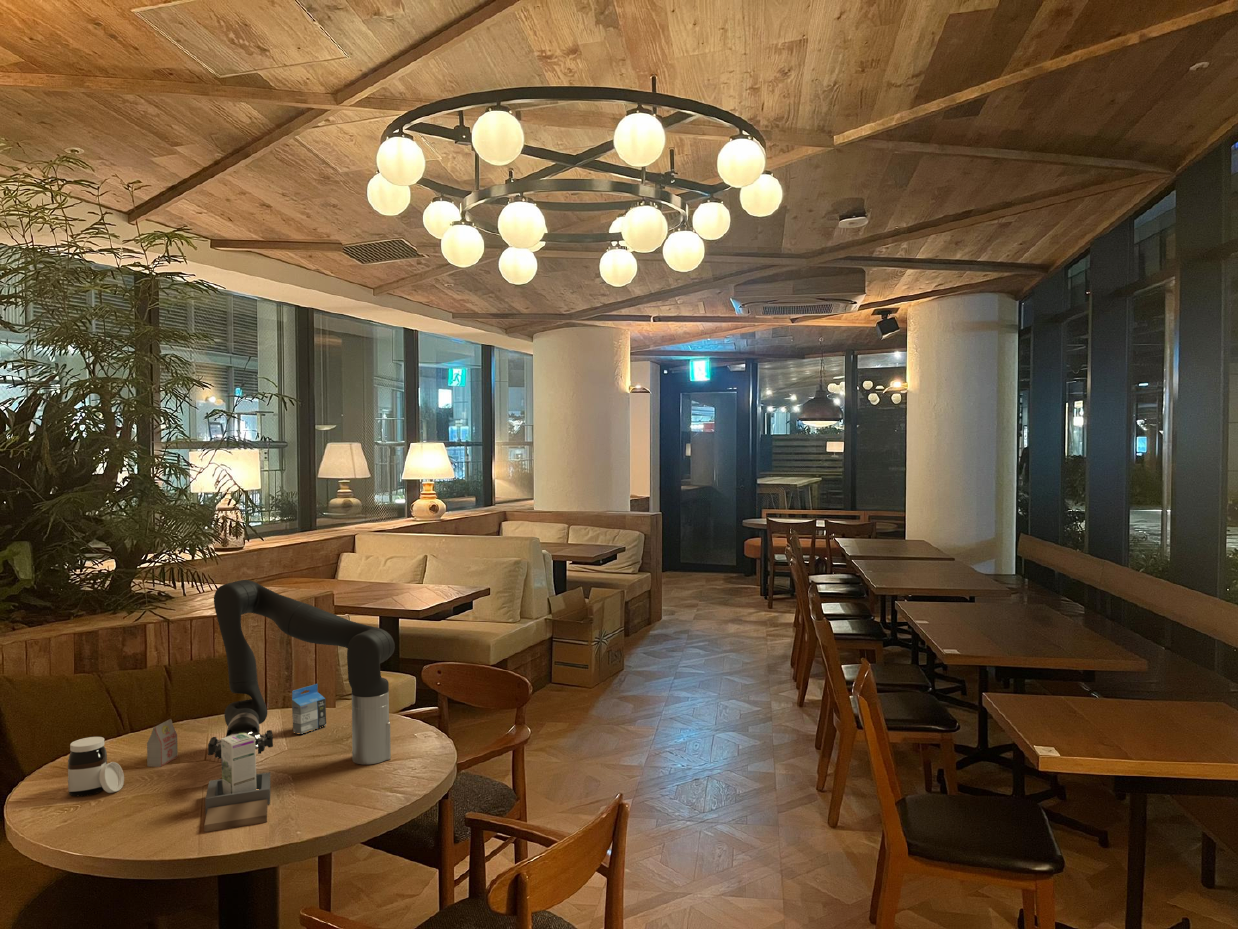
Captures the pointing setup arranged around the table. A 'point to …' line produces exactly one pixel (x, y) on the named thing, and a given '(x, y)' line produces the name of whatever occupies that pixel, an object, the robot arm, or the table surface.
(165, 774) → the table surface
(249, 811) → the walnut pad
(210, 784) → the gray open storage bin
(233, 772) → the syrup box
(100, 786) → the spread jar
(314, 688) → the label tape box
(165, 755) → the white gable top carton
